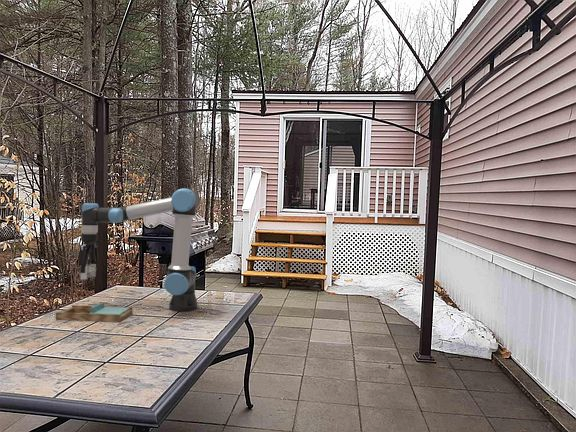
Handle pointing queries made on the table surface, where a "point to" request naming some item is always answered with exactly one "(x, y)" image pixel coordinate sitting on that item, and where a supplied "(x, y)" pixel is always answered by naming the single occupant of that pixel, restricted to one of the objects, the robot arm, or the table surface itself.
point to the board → (90, 315)
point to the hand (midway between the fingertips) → (88, 277)
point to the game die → (91, 270)
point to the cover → (107, 310)
